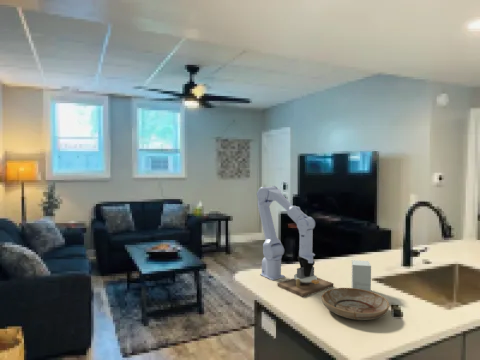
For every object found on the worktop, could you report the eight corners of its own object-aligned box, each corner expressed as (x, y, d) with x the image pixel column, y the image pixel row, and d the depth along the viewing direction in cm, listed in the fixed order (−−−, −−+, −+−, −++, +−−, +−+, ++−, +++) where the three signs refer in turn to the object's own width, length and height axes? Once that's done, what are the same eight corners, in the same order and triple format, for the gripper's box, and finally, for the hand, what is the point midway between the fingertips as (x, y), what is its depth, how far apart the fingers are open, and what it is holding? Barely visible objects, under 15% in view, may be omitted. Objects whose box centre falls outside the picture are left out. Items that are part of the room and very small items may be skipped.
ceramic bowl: (336, 294, 139) (336, 282, 138) (396, 310, 124) (396, 297, 123) (310, 313, 121) (311, 300, 120) (377, 334, 106) (377, 319, 106)
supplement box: (368, 289, 144) (369, 260, 143) (370, 295, 137) (371, 265, 136) (351, 287, 146) (351, 259, 145) (352, 293, 139) (352, 264, 138)
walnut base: (277, 286, 147) (277, 275, 147) (308, 277, 159) (308, 267, 159) (302, 297, 135) (302, 285, 135) (333, 286, 147) (333, 276, 147)
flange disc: (289, 277, 149) (289, 266, 148) (305, 273, 154) (306, 263, 154) (308, 285, 138) (308, 274, 138) (325, 281, 144) (325, 270, 143)
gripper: (320, 248, 139) (319, 279, 140) (309, 240, 154) (309, 269, 155) (304, 248, 139) (303, 280, 139) (294, 240, 153) (294, 269, 154)
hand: (305, 274), depth 147 cm, fingers closed on flange disc, 4 cm apart
